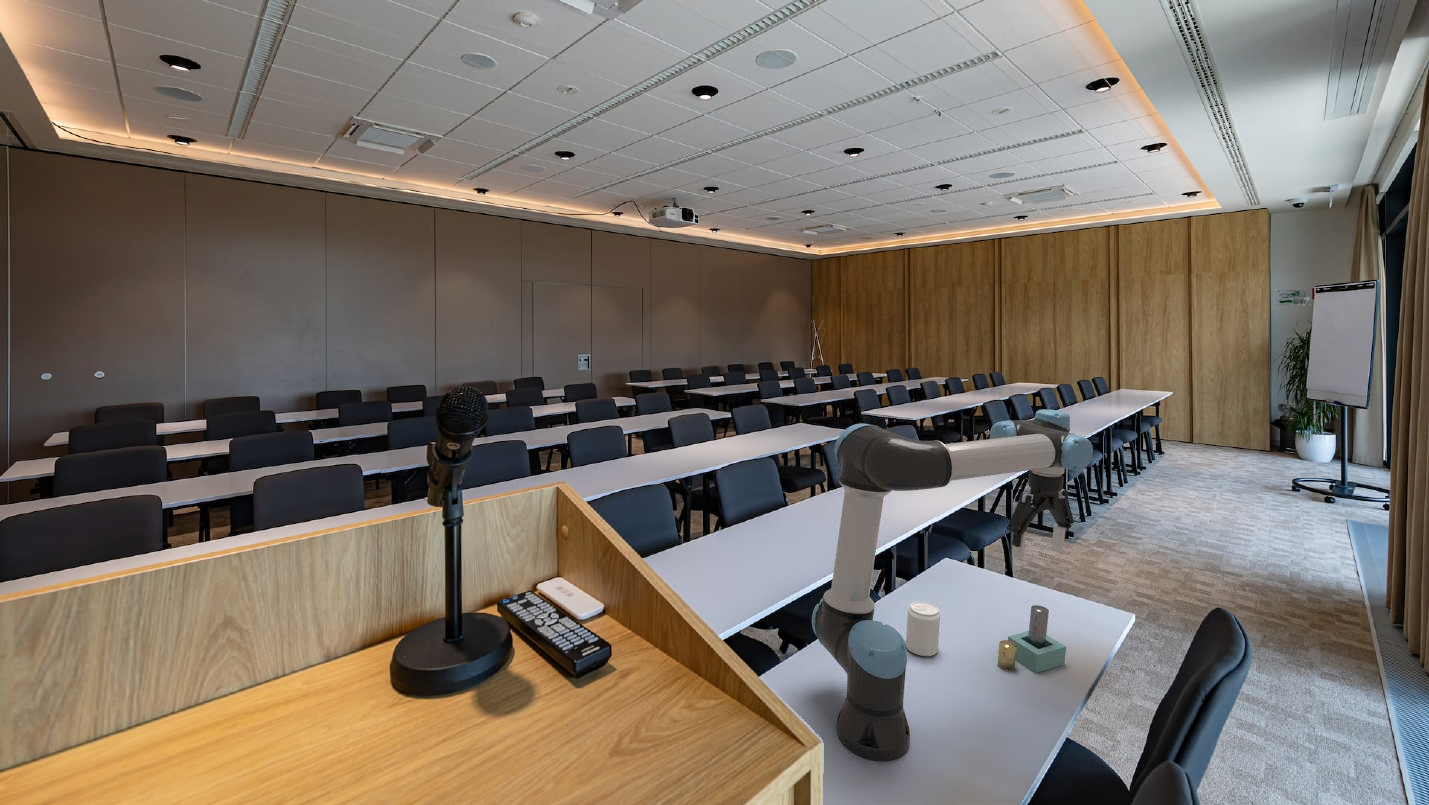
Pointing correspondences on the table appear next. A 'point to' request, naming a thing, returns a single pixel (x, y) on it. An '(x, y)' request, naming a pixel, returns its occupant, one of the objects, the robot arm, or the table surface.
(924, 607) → the beverage can
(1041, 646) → the long pin
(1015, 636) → the hole block
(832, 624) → the robot arm
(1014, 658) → the short pin
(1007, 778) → the table surface
